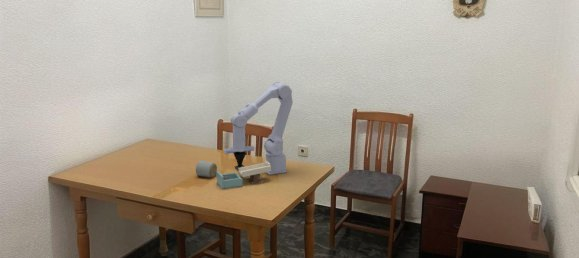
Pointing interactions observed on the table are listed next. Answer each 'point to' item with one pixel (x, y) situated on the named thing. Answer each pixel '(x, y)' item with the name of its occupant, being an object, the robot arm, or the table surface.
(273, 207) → the table surface
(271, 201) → the table surface
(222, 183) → the bin
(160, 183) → the table surface
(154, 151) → the table surface
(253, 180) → the lever stand
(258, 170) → the cream piece
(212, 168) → the ceramic mug
